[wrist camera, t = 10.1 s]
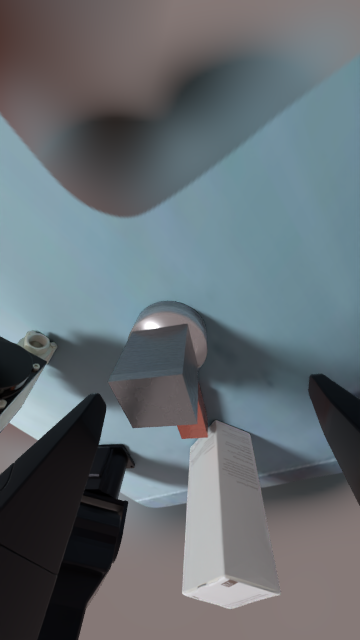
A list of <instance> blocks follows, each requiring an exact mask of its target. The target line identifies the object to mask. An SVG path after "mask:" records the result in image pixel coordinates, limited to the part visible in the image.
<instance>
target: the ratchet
mask: <svg viewBox="0 0 360 640" xmlns="http://www.w3.org/2000/svg"><path fill="white" fill-rule="evenodd" d="M187 323H188V327H189V331H190V335H191V339H192V343H193V347H194V351H195V355H196V359H197V363H198V369H199V368H200V367H201V366H202V364H203V363H204V361H205V359H206V355H207V332H206V326H205V323H204V321H203V319H202V318H201V316H200V315H199V314H198V313H197V312H196V311H195V310H194V309H192V308H191V307H189V306H187V305H185V304H182V303H179V302H174V301H161V302H157V303H154V304H152V305H150V306H148V307H147V308H145V309H144V310H143V311H142V312H141V313H140V315H139V316H138V318H137V320H136V322H135V324H134V326H133V328H132V330H131V332H130V334H129V337H130V335H131V333H132V332H133V331H140V330H146V329H153V328H160V327H167V326H173V325H180V324H187ZM129 337H128V339H129ZM177 427H178V429H179V432H180V435H181V438H182V439H186V438H208V417H207V413H206V409H205V405H204V401H203V397H202V393H201V389H200V385H199V382H198V415H197V424H193V425H177Z"/></svg>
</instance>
